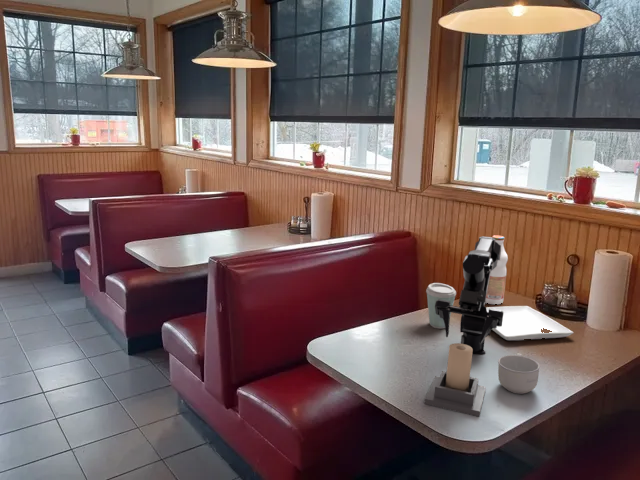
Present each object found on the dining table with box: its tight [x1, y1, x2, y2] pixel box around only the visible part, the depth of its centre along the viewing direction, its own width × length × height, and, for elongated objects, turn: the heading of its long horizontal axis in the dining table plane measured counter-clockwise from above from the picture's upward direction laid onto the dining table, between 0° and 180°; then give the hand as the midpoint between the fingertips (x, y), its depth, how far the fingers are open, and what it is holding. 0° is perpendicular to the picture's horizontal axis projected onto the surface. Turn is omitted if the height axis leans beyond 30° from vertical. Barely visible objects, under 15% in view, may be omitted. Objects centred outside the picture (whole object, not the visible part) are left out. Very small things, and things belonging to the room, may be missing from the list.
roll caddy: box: [424, 370, 487, 418], centre depth 141 cm, size 14×14×4 cm
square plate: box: [486, 305, 574, 341], centre depth 193 cm, size 27×27×4 cm
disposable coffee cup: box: [425, 282, 457, 329], centre depth 191 cm, size 11×11×15 cm
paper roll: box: [445, 342, 473, 392], centre depth 140 cm, size 6×6×13 cm
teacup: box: [497, 352, 541, 395], centre depth 148 cm, size 14×11×8 cm
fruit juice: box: [485, 235, 509, 305], centre depth 218 cm, size 9×9×28 cm
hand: (463, 340), depth 146 cm, fingers open, 9 cm apart
